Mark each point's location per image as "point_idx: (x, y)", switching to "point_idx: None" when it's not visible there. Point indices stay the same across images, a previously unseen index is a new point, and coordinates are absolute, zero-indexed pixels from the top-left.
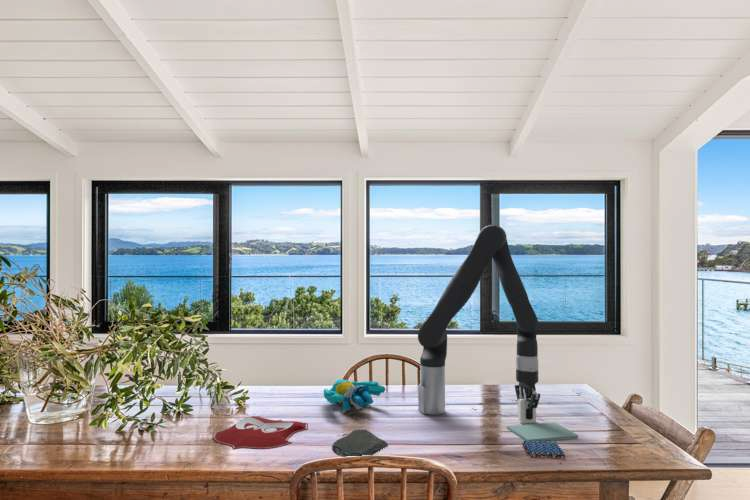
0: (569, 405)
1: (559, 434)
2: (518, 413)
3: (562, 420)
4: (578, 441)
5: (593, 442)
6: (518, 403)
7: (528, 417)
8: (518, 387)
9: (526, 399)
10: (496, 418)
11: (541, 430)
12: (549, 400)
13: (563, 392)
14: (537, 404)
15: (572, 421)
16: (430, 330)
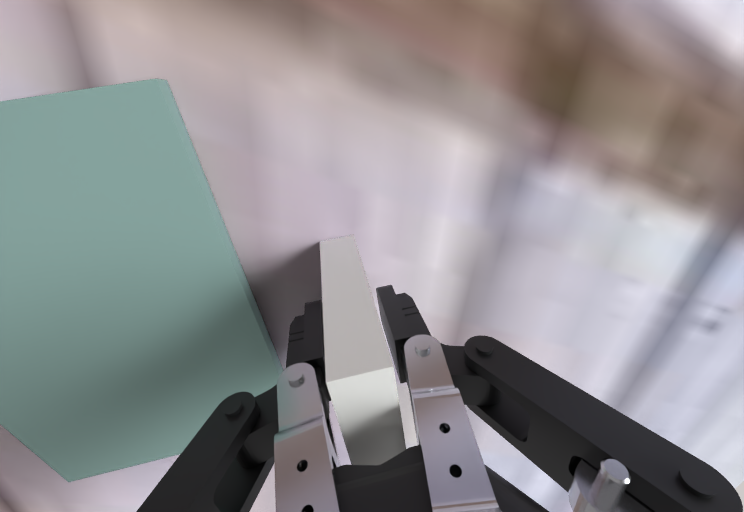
0: (543, 484)
1: (40, 411)
2: (355, 267)
3: None
4: (4, 460)
5: (19, 505)
6: (373, 328)
7: (300, 318)
8: (644, 509)
9: (277, 462)
10: (461, 81)
11: (100, 334)
12: None
13: None
14: (216, 495)
15: None
16: None
